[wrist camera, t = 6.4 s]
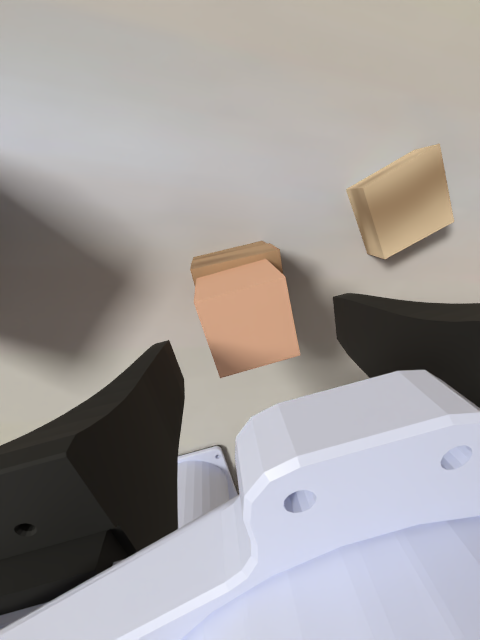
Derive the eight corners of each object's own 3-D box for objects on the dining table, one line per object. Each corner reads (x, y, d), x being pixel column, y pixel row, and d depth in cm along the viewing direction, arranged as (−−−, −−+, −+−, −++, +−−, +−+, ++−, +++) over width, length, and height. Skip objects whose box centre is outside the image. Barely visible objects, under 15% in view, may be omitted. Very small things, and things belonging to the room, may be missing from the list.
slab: (426, 219, 21) (454, 221, 18) (365, 253, 21) (384, 259, 19) (410, 150, 19) (439, 143, 17) (344, 189, 19) (362, 187, 17)
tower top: (280, 314, 20) (290, 329, 17) (210, 330, 19) (212, 347, 17) (269, 243, 18) (279, 249, 15) (192, 260, 17) (190, 269, 15)
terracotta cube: (279, 322, 17) (300, 355, 13) (216, 339, 17) (220, 378, 13) (266, 258, 15) (285, 276, 12) (196, 278, 15) (193, 302, 12)
